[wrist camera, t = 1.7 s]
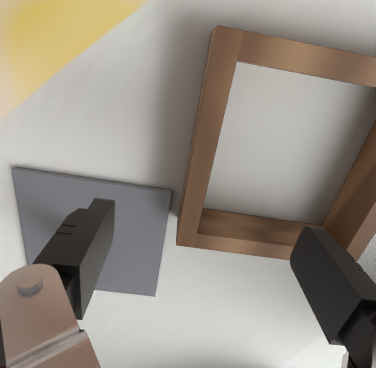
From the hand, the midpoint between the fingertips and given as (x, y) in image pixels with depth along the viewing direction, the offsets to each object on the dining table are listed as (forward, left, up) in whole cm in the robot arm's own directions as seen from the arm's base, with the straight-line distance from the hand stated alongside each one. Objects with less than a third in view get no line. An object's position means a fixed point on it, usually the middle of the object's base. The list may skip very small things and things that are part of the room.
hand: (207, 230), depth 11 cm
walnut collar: (-7, 0, -12) cm, 14 cm away
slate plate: (+9, +12, -12) cm, 19 cm away
